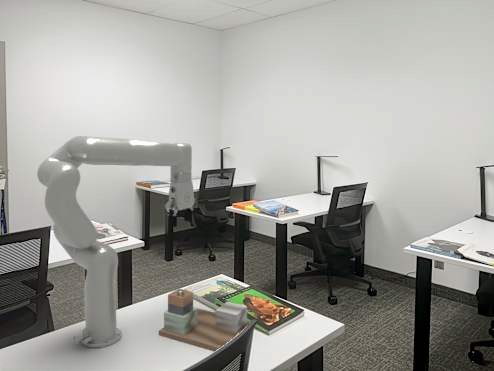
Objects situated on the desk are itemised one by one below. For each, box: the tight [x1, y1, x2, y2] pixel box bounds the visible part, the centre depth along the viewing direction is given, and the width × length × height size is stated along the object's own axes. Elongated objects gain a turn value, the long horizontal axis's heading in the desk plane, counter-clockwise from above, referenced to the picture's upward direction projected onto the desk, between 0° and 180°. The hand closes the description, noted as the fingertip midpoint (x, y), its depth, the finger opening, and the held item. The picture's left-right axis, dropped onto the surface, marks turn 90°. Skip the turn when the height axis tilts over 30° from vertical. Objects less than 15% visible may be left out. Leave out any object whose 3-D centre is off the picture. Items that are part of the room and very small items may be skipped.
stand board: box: [158, 301, 252, 352], centre depth 145 cm, size 21×24×8 cm
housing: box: [167, 288, 194, 316], centre depth 142 cm, size 6×6×7 cm
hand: (180, 223), depth 156 cm, fingers open, 9 cm apart
